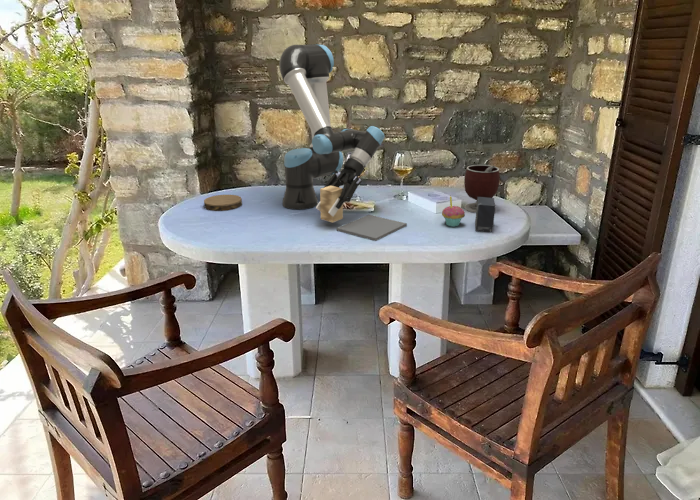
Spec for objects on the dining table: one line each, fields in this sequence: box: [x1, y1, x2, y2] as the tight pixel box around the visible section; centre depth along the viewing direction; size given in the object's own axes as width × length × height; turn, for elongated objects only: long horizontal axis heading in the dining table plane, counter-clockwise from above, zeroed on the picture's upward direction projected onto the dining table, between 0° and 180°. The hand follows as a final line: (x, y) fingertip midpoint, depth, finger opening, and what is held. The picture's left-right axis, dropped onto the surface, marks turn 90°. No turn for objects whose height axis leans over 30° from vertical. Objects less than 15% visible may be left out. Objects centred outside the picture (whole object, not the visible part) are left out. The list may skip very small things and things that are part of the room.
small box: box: [474, 197, 496, 233], centre depth 192 cm, size 11×6×10 cm, turn 168°
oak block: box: [319, 186, 344, 223], centre depth 196 cm, size 6×6×12 cm
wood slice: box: [203, 194, 243, 212], centre depth 223 cm, size 16×16×3 cm
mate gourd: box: [463, 164, 501, 214], centre depth 211 cm, size 16×14×20 cm
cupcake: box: [441, 195, 466, 227], centre depth 195 cm, size 9×8×12 cm
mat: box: [336, 214, 408, 242], centre depth 194 cm, size 18×20×1 cm
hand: (324, 212), depth 194 cm, fingers closed on oak block, 7 cm apart
